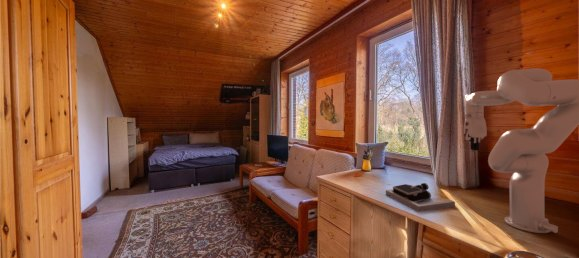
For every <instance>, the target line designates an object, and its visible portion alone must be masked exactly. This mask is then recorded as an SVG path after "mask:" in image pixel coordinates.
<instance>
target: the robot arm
mask: <svg viewBox="0 0 579 258" xmlns="http://www.w3.org/2000/svg"><path fill="white" fill-rule="evenodd" d="M552 79H553V75H552V73H551V72H550V71H548V70H547V69H545V68H544V69H543V68H536V67H535V68H524V69H521V68H520V69H512V70H508V71H505V72H504V73H502V74H501V75H500V76H499V78H498V80H497V87H496V90H493V89H492V90H483V91H482V90H481V91H475V92H473V93H466V95H465V96H464V105H465V107H464V113H465V115H464V117H465V119H464V124H463V136H464V137H465V138H464V139H465V140H466V141H469V143H470V150H471V151H480V143H481V140H483V139H485V137H487V135H488V134H487V133H488V132H487V131H488V130H487V121H486V119H485V116H484V115H485V114H484V113H485V111H484V110H485V109H484V107H489V106H490V107H491V106H502V105H507V104H510V103H513V102H515V101H516V102H518V103H519V104H522V105H524V106H529V107H545V106H546V107H547V106H551V107H552V106H555V107H554V108H552V109H550V110H548V111H547V112H546V113H544V114H543V115H542V116H541V117H540V118H539V119H538V121H537V122H536V123H535V124H534V125H532V126H531V127H530V128H529V127H528V128H515V129H509V130H507V131H505V132H504V133H503V134H502V135H501V136H500V137H499V138H498V139H497V140H498V141H497V142H496V143H495V145H494V146H493V148H492V149H491V151H490V153H489V155H488V159H487V163H488V166H489V167H490V169H492V170H493V171H495V172H498V173H504V174H505V173H506V174H508V173H511V174H512V175H511V177H510V179H509V215H508V216H505V217H504V222H505V223H506V224H507V225H509V226H511V227H513V228H516V229H519V230H522V231H525V232H529V233H538V234H549V233H551V232H552V233H555V234H557V233H558V231H559V226H557V225H554V224H551V223H550V222H549V219H548V218H546V217H545V214H546V213H545V187H546V186H545V185H546V183H545V182H546V181H545V180H546V175H547V171H548V168H549V164H550V163H549V158H548V156H547V155H546V154H551V153H553V152H555V151H556V150H557V149H558V148H559V147H560V146H561V145H562V144H563V143H564V142H565V141H566V139H567V138H568V137H569V136H570V135H571V134H572V133H573V132H574V131H575V129H576V128H577V127H578V126H579V79H556V80H552Z"/></svg>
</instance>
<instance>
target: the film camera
mask: <svg viewBox="0 0 579 258" xmlns="http://www.w3.org/2000/svg"><path fill="white" fill-rule="evenodd" d="M392 189H393V192H394V193H396V194H399V195H401V196H403V197H405V198H407V199H409V200H411V201H413V202H415V203H418V202H423V201H424V200H428V199H431V197H432V193H431V192H430V191H429V185H428V183H426V182H422V183H421V184H416V185H412V184H411V185H410V184H406V183H405V184H400V185H394V186H392Z"/></svg>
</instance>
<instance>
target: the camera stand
mask: <svg viewBox="0 0 579 258" xmlns="http://www.w3.org/2000/svg"><path fill="white" fill-rule="evenodd" d="M385 194H386V195H387V194H388V195H387V196H389V195H390V196H392V197H393V198H392V197H391V198H392V199H394V198H395V200H396V199H397V200H396V201H398V200H399V201H398V202H400V203H402V204H404V205H406V206H407V205H408V207H409V206H410V209H413V210H415V211H416V212H427V211H432V210H441V209H448V208H453V207H454V208H455V207H456V201H454V200H444V201H436V202H428V203H423V204H420V203H418V202H413V201H411V200H409V199H407V198H405V197H403V196H401V195H399V194H396V193H394V192H393V188H391V189H385ZM390 196H389V197H390Z"/></svg>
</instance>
